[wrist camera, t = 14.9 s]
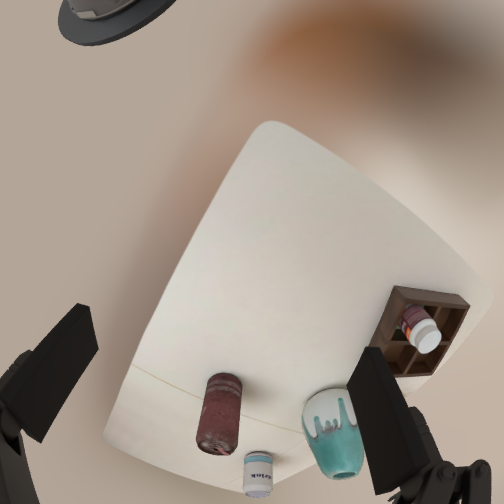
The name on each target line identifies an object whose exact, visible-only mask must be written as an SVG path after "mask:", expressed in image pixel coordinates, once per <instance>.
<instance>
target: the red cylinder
mask: <svg viewBox="0 0 504 504" xmlns="http://www.w3.org/2000/svg"><path fill="white" fill-rule="evenodd" d="M241 396H242V384H241V382H240V381H239V380H238V378H237V377H235V376H233V375H230V374H226V373H220V374H216V375H214V376H212V377H211V378H210V379H209V381H208V383H207V388H206V392H205V397H204V402H203V407H202V411H201V416H200V421H199V426H198V431H197V436H196V442H197V445H198V448H199V449H200V450H202V451H203V452H206V453H208V454H212V455H227V456H228V455H231V454H232V453H233V452H234V451H235V449H236V448H237V445H238V434H239V421H240V409H241Z"/></svg>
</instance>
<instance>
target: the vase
mask: <svg viewBox="0 0 504 504" xmlns="http://www.w3.org/2000/svg"><path fill="white" fill-rule="evenodd" d="M301 424H302V429H303V432H304V435H305V438H306V440H307V443H308V445H309V447H310V448H311V450H312V452H313V454H314V456H315V459H316V461H317V463H318V466H319V467H320V469H321V471H322V473H323V474H324V475H325V476H326V477H328V478H330V479H333V480H346V479H350V478H353V477H355V476H357V475H358V474H359V472H360V470H361V468H362V465H363V461H364V446H363V442H362V438H361V435H360V431H359V427H358V424H357V420H356V416H355V413H354V409H353V406H352V403H351V399H350V396H349V392H348V390H345V389H340V388H333V389H327V390H324V391H321V392H319V393H317V394H316V395H314V396H313V397H312V398H311V399H310V400H309V401H308V402H307V403H306V405H305V407H304V409H303V412H302V416H301Z"/></svg>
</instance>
